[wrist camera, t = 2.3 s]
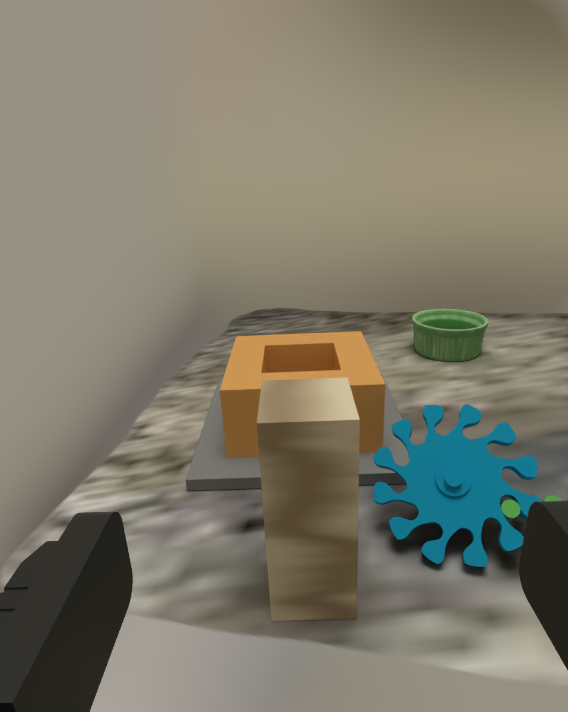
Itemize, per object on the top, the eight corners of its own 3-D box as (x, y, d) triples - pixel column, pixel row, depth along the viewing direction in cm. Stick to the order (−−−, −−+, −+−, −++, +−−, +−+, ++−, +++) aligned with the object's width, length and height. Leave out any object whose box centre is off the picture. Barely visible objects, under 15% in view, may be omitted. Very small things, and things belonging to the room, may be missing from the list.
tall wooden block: (346, 554, 29) (347, 377, 25) (356, 619, 25) (359, 419, 20) (273, 556, 29) (262, 380, 25) (271, 621, 25) (256, 423, 21)
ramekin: (404, 359, 58) (406, 325, 56) (416, 336, 66) (418, 306, 64) (482, 368, 54) (486, 332, 53) (485, 343, 62) (489, 311, 60)
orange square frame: (381, 382, 52) (383, 322, 49) (426, 482, 35) (432, 399, 33) (219, 388, 52) (213, 328, 50) (187, 490, 36) (175, 408, 33)
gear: (348, 527, 29) (397, 381, 32) (359, 533, 34) (400, 407, 37) (546, 608, 25) (581, 432, 28) (524, 601, 30) (555, 453, 33)
